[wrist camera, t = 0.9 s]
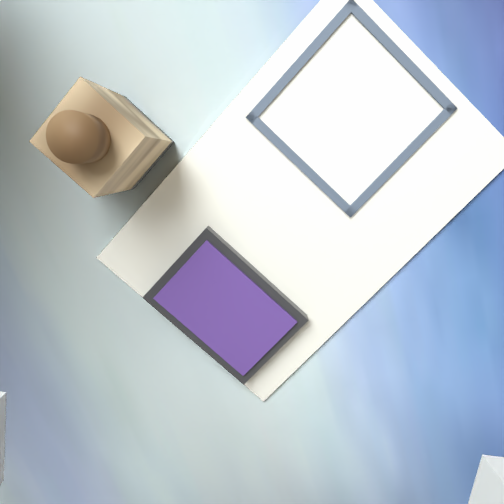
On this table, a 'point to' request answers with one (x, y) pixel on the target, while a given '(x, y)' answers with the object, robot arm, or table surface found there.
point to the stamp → (100, 139)
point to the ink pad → (226, 305)
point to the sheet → (321, 174)
